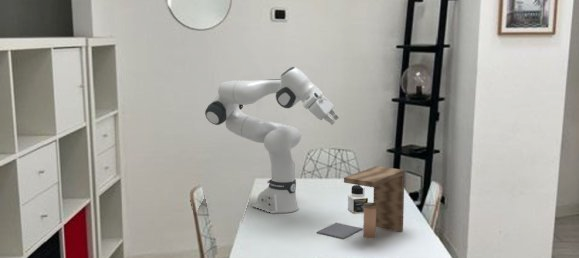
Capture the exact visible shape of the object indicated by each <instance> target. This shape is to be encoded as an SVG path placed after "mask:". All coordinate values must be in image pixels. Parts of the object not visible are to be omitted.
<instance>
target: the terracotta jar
mask: <svg viewBox="0 0 579 258" xmlns="http://www.w3.org/2000/svg"><path fill="white" fill-rule="evenodd" d="M376 207H377V204H376V203H374V202H368V203H364V213H363V226H362V227H363V228H362V232H363V237H364V238H366V239H375V238H376V237H377V232H376V231H377V227H376Z"/></svg>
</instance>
